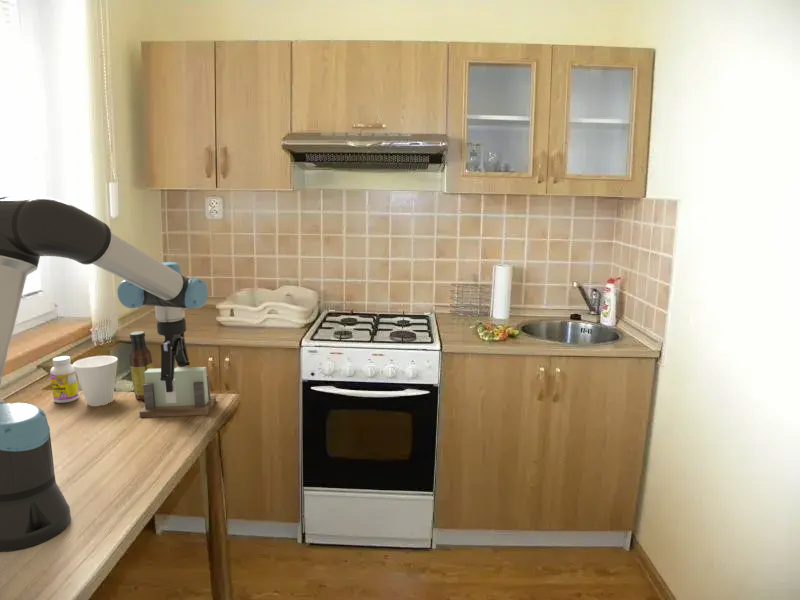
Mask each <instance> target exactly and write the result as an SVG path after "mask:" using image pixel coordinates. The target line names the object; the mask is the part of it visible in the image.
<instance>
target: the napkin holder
mask: <svg viewBox="0 0 800 600" xmlns="http://www.w3.org/2000/svg"><path fill="white" fill-rule="evenodd" d="M207 385H208V397H209V401H208V402H207V404H206V405H205V397H204V385H203V382H194V383H193V386H194V397H195V405H189V406H161V407H156V406H155V396H154V386H153V383H152V384H144V385H143V391H144V407H143V408H142V409H141V410H140V411H139V418H149V417H151V418H152V417H157V418H158V417H179V416H180V417H181V416H205V415H206V416H207V415H208V413H209V412H210V411H211V409H212V407H213V406H214V404H215V403H216V402H217V399H216V398H217V397H216V395H211V387H210V386H211V385H210V376H209V374H207Z"/></svg>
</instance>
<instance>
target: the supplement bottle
mask: <svg viewBox="0 0 800 600" xmlns="http://www.w3.org/2000/svg"><path fill="white" fill-rule="evenodd" d="M71 361H72V360H71V356H69V355H61V356H56V357H53V358H52V364H53V366H52V367H51V369H50V370H49V374H50V381H51V387H52V388H51V389H52V397H53V401H54V402H55V403H58V404H66V403H71V402H74V401H76V400H77V399H78V398H79V397H80V396H79V387H78V377H77V374H76V372H75V369H74V366H73V364H71Z"/></svg>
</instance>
